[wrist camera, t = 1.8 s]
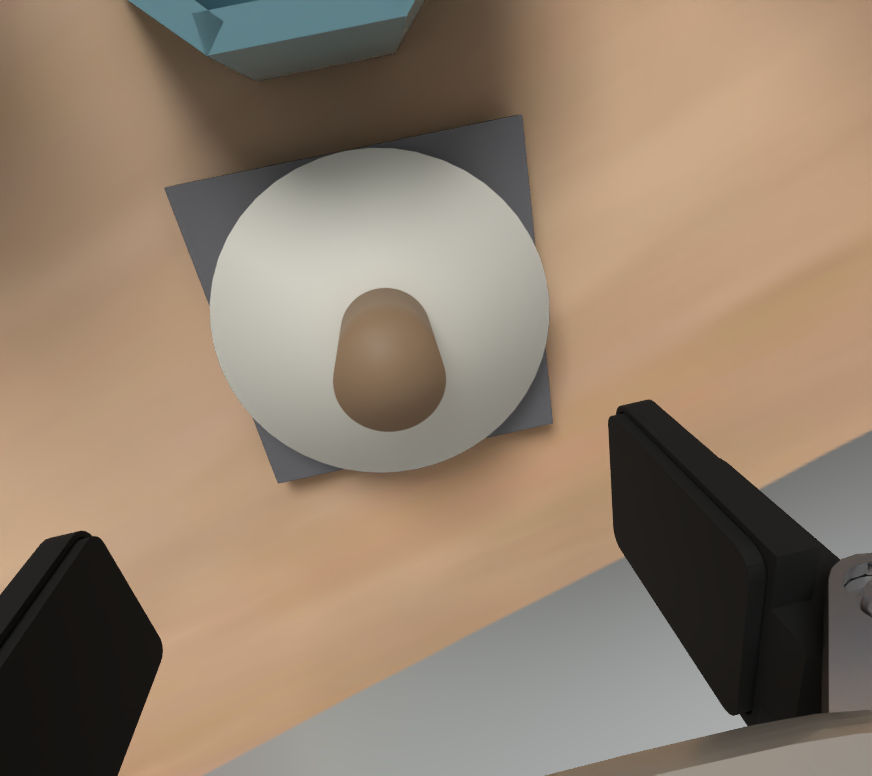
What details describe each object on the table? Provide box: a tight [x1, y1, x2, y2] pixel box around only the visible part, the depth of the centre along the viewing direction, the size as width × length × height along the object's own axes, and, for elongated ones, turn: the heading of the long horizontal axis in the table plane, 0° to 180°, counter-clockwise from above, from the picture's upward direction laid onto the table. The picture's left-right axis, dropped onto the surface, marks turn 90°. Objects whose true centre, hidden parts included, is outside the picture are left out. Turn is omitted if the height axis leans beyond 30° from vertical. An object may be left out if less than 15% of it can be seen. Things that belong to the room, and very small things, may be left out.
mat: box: [164, 115, 553, 483], centre depth 21 cm, size 12×12×1 cm
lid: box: [210, 148, 549, 473], centre depth 18 cm, size 12×12×6 cm
